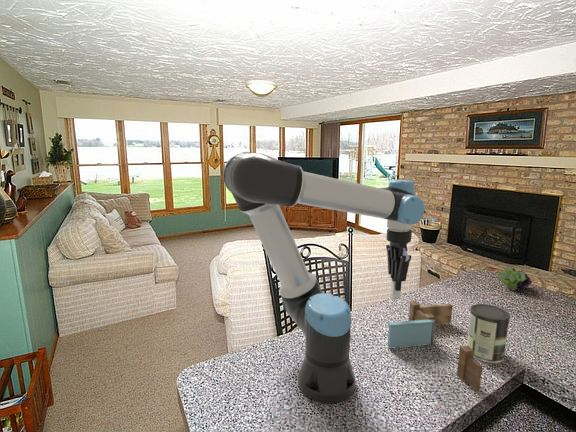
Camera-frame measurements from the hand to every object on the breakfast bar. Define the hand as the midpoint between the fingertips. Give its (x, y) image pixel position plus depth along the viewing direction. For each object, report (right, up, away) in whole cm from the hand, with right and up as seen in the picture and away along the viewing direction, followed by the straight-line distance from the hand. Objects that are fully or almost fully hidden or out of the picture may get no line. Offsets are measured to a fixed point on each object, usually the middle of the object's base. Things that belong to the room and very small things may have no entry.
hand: (395, 298), depth 111 cm
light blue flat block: (+4, -14, -4) cm, 15 cm away
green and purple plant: (+67, -6, +41) cm, 78 cm away
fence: (+18, -15, -6) cm, 24 cm away
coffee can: (+25, -16, -7) cm, 30 cm away
